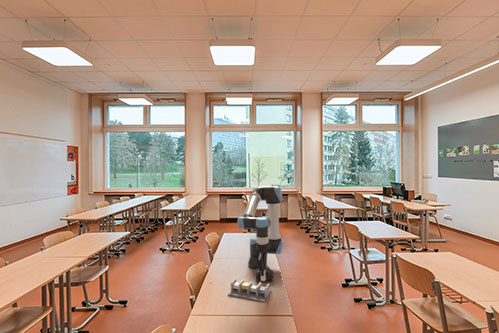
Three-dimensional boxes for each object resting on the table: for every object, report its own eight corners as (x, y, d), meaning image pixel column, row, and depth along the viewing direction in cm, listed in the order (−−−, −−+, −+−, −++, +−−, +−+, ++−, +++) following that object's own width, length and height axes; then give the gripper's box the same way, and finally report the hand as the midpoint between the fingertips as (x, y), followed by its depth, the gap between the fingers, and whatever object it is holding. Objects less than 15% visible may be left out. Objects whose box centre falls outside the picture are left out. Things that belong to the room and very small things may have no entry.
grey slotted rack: (237, 285, 175) (237, 276, 175) (271, 291, 166) (271, 281, 166) (228, 295, 162) (228, 285, 162) (264, 302, 153) (264, 291, 153)
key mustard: (243, 285, 168) (243, 282, 168) (249, 286, 166) (249, 283, 166) (241, 288, 164) (241, 285, 164) (247, 289, 163) (247, 286, 162)
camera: (257, 284, 176) (256, 270, 176) (254, 278, 186) (254, 264, 186) (275, 282, 178) (275, 268, 178) (272, 276, 188) (272, 263, 188)
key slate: (261, 289, 163) (261, 286, 163) (267, 291, 162) (267, 287, 162) (259, 292, 160) (259, 289, 160) (265, 294, 158) (265, 290, 158)
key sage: (252, 288, 165) (252, 285, 165) (258, 289, 164) (258, 286, 164) (250, 291, 162) (250, 287, 162) (256, 292, 160) (256, 288, 160)
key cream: (235, 285, 170) (235, 282, 170) (241, 286, 168) (241, 283, 168) (233, 288, 166) (233, 284, 166) (238, 289, 165) (238, 285, 165)
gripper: (260, 239, 168) (260, 274, 168) (253, 245, 156) (253, 283, 156) (271, 240, 165) (271, 276, 165) (264, 246, 153) (265, 285, 153)
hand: (263, 280), depth 161 cm, fingers closed
